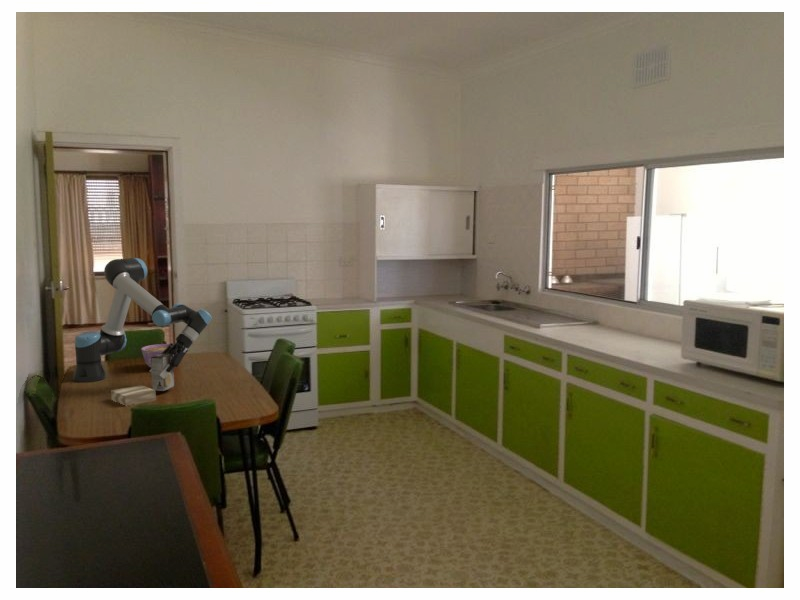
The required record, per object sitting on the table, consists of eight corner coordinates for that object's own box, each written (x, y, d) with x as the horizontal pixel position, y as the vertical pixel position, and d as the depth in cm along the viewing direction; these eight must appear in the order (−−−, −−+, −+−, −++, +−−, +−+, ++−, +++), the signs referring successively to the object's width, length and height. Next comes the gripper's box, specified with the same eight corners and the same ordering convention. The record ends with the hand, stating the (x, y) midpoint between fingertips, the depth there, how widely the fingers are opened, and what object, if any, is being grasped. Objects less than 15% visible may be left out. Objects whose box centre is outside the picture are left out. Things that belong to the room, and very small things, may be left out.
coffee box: (162, 385, 322) (161, 352, 320) (174, 386, 321) (173, 353, 319) (151, 390, 313) (150, 356, 311) (164, 391, 312) (163, 357, 310)
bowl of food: (188, 367, 369) (188, 346, 367) (158, 374, 352) (157, 352, 350) (164, 362, 379) (164, 342, 378) (134, 369, 363) (133, 348, 361)
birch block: (111, 401, 303) (110, 390, 302) (141, 395, 313) (140, 384, 312) (125, 407, 294) (125, 396, 293) (155, 401, 304) (155, 390, 303)
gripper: (203, 345, 317) (173, 384, 308) (181, 339, 333) (151, 375, 324) (193, 336, 313) (161, 374, 304) (170, 329, 329) (140, 366, 320)
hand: (156, 374), depth 314 cm, fingers closed on coffee box, 10 cm apart
